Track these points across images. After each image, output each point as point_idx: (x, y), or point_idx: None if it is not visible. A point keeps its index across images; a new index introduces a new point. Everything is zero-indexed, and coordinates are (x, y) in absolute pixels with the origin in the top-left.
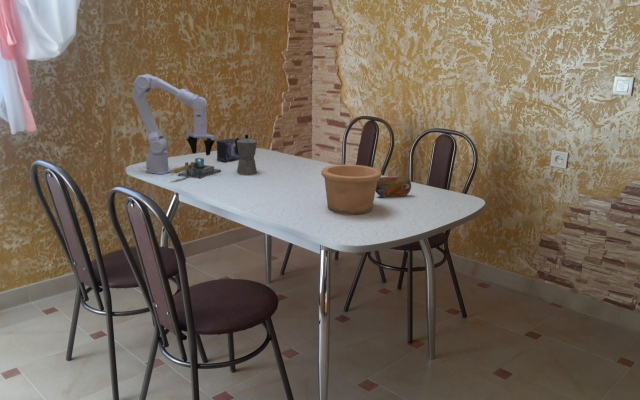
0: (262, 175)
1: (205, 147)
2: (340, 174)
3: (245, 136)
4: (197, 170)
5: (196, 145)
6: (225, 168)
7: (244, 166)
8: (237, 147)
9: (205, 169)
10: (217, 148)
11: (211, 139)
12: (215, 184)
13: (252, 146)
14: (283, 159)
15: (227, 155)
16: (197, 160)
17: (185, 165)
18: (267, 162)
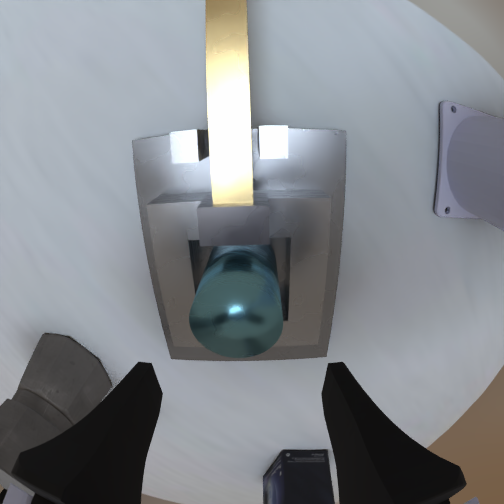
0: (19, 349)
1: (110, 426)
2: None
3: (2, 497)
4: (196, 199)
5: (336, 464)
6: (206, 400)
7: (32, 362)
8: None
9: (154, 248)
10: (329, 492)
11: (18, 495)
12: (8, 106)
13: None
14: (161, 489)
15: (278, 477)
16: (223, 279)
17: (246, 91)
18: (162, 472)
